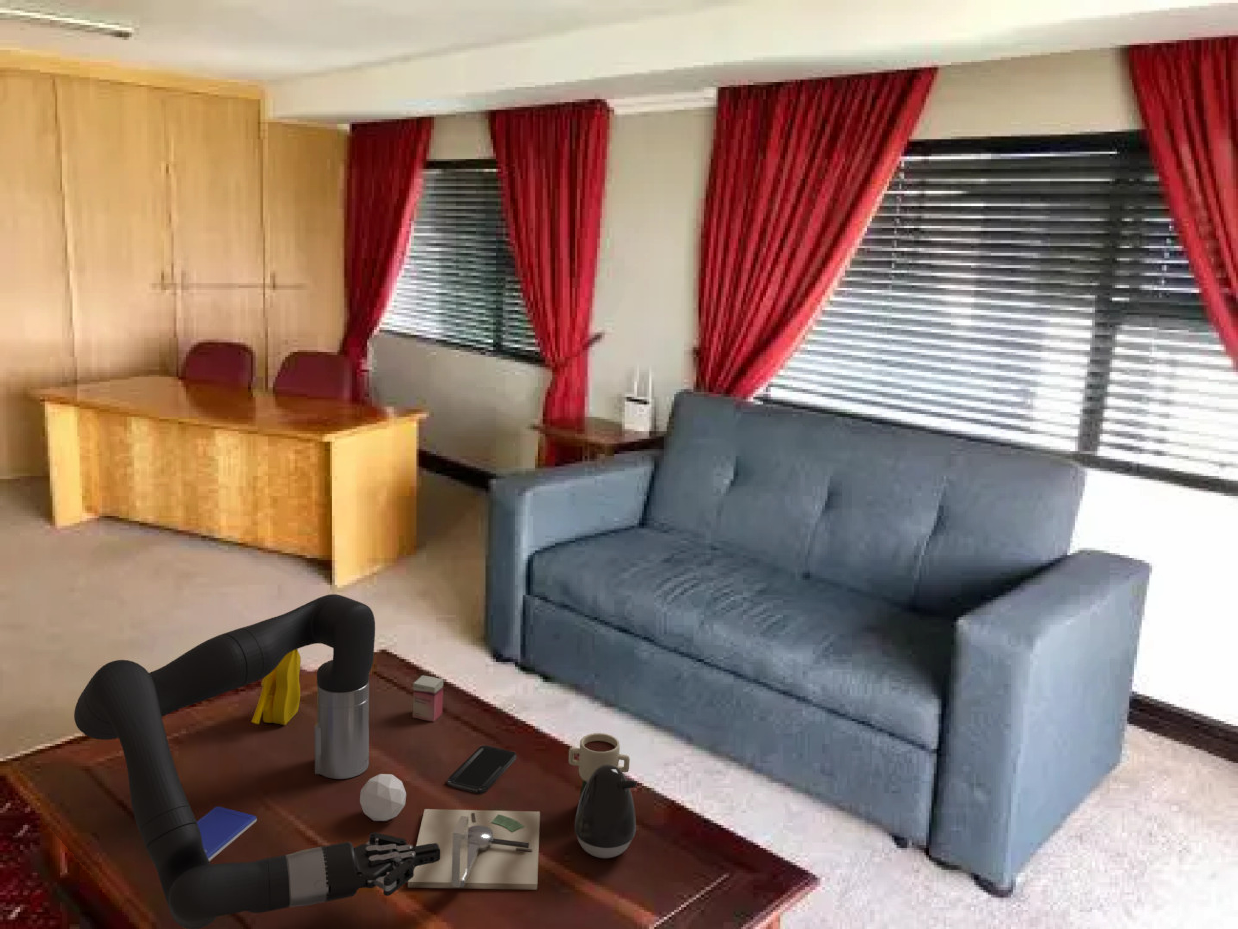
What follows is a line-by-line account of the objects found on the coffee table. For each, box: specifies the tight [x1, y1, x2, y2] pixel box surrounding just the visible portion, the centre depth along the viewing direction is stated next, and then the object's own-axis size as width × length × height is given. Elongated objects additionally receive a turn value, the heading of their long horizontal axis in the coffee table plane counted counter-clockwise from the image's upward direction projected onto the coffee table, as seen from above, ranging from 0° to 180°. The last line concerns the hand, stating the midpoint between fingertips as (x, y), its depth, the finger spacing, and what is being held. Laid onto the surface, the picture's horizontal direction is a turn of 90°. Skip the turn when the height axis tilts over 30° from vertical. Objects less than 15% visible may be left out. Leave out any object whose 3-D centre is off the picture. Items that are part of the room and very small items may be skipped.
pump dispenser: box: [574, 765, 638, 859], centre depth 170 cm, size 10×10×15 cm
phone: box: [446, 744, 517, 795], centre depth 193 cm, size 8×1×15 cm
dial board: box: [407, 808, 541, 891], centre depth 169 cm, size 20×20×1 cm
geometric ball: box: [359, 773, 407, 822], centre depth 176 cm, size 8×8×8 cm
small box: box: [412, 674, 444, 722], centre depth 212 cm, size 5×4×8 cm
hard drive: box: [196, 805, 258, 862], centre depth 169 cm, size 2×8×12 cm
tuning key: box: [452, 816, 529, 887], centre depth 162 cm, size 16×11×11 cm
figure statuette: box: [250, 648, 302, 726], centre depth 205 cm, size 18×8×22 cm, turn 173°
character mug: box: [568, 732, 631, 802], centre depth 181 cm, size 11×7×13 cm, turn 81°
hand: (439, 852), depth 154 cm, fingers closed
